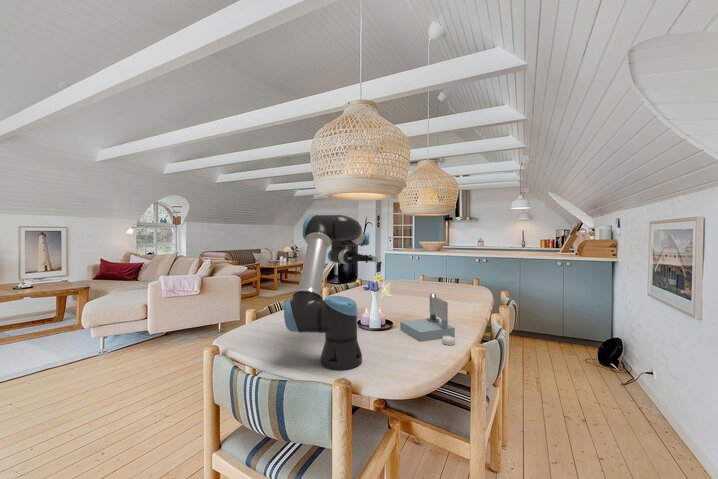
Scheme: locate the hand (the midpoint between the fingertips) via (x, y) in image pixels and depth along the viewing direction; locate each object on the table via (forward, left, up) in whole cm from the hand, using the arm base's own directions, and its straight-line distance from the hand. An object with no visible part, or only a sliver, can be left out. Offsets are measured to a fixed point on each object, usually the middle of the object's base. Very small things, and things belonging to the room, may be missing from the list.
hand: (378, 259), depth 154 cm
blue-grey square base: (-17, -17, -34) cm, 42 cm away
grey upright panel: (-19, -22, -30) cm, 41 cm away
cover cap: (-32, -18, -31) cm, 49 cm away
